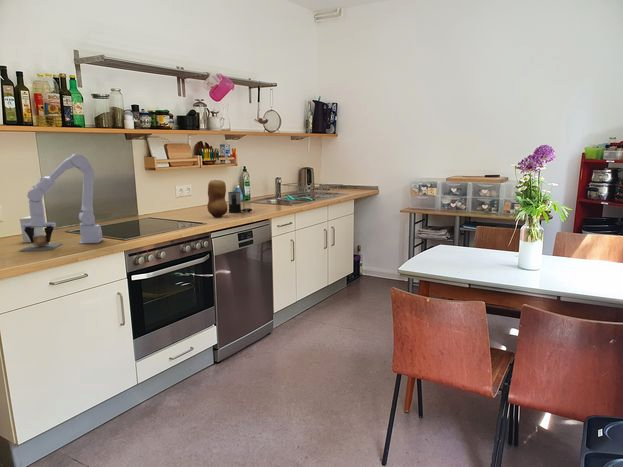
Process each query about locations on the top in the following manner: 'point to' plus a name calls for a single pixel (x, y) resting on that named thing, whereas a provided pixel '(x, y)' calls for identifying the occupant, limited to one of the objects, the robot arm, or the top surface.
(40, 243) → the oak cube
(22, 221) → the supplement box
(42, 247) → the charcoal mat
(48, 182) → the robot arm
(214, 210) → the butternut squash
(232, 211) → the milk frother
